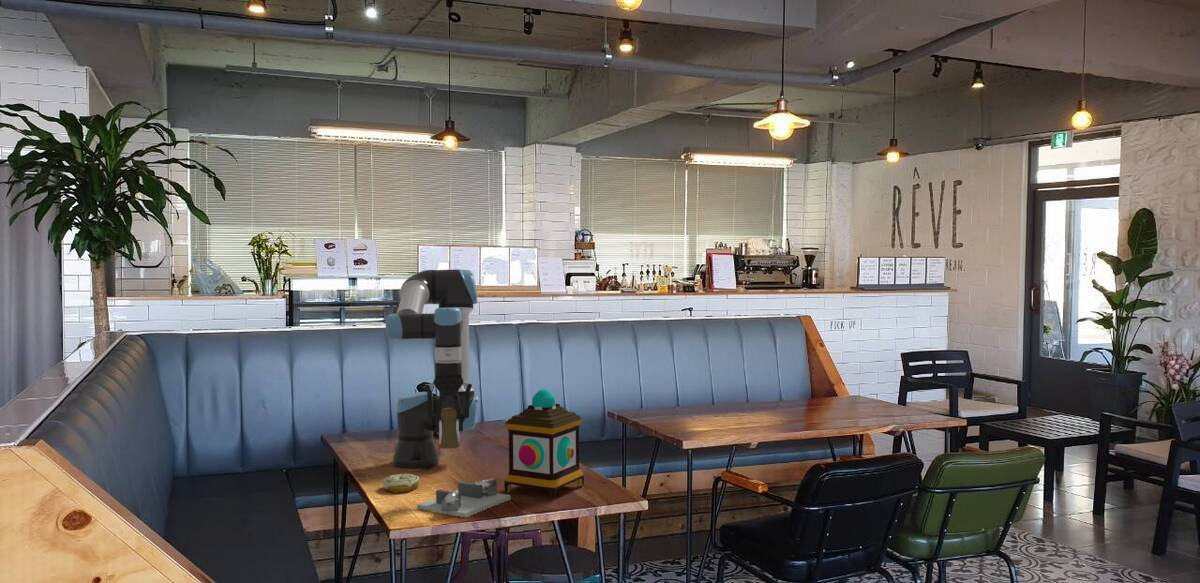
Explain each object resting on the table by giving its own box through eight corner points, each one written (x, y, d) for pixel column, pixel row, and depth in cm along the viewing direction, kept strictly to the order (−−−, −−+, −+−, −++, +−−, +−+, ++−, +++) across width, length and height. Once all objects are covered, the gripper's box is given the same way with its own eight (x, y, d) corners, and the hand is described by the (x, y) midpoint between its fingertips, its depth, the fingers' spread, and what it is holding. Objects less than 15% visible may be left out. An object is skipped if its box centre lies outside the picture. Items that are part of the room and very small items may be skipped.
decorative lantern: (555, 502, 248) (554, 396, 246) (497, 493, 257) (496, 391, 256) (590, 485, 265) (589, 386, 264) (535, 477, 275) (534, 382, 274)
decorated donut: (379, 494, 258) (379, 481, 258) (387, 484, 269) (387, 472, 269) (415, 493, 258) (415, 480, 258) (422, 484, 269) (421, 471, 269)
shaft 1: (446, 505, 241) (446, 490, 241) (462, 505, 241) (462, 490, 241) (441, 510, 236) (441, 495, 236) (457, 511, 236) (457, 495, 236)
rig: (417, 508, 243) (416, 491, 242) (463, 491, 260) (463, 475, 259) (465, 517, 234) (465, 500, 234) (510, 499, 251) (510, 483, 251)
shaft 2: (480, 498, 248) (480, 483, 248) (472, 495, 252) (471, 480, 251) (498, 494, 252) (498, 479, 252) (489, 491, 255) (489, 476, 255)
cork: (434, 447, 252) (433, 409, 251) (447, 443, 257) (446, 406, 257) (452, 449, 249) (451, 410, 249) (464, 445, 255) (463, 407, 254)
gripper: (416, 363, 248) (418, 446, 248) (478, 362, 250) (479, 444, 250) (418, 361, 255) (419, 441, 256) (478, 359, 257) (479, 439, 258)
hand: (449, 443), depth 253 cm, fingers closed on cork, 4 cm apart
